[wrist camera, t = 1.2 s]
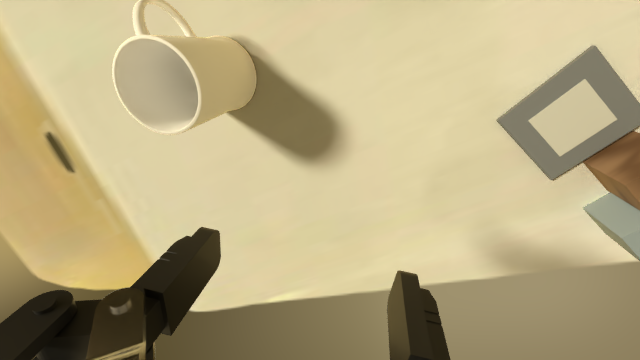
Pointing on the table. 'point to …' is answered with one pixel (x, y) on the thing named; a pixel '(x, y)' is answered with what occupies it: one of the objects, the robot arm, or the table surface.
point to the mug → (180, 75)
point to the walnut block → (619, 168)
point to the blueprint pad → (573, 114)
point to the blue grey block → (617, 221)
